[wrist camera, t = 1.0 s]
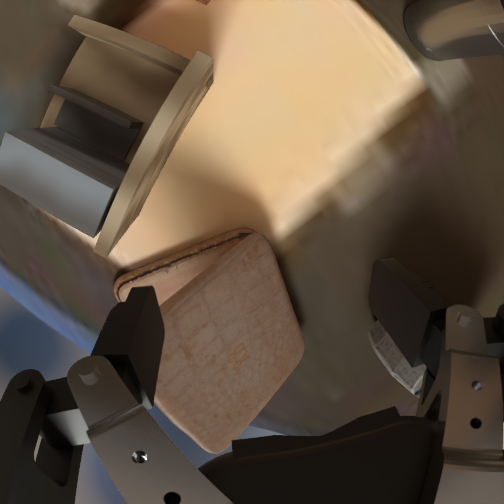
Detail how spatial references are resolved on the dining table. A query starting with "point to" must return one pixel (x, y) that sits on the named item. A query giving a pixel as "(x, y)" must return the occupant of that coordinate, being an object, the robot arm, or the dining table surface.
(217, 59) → the dining table surface
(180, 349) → the case
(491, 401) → the robot arm
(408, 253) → the dining table surface
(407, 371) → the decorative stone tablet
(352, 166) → the dining table surface
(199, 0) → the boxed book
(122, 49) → the shelf
